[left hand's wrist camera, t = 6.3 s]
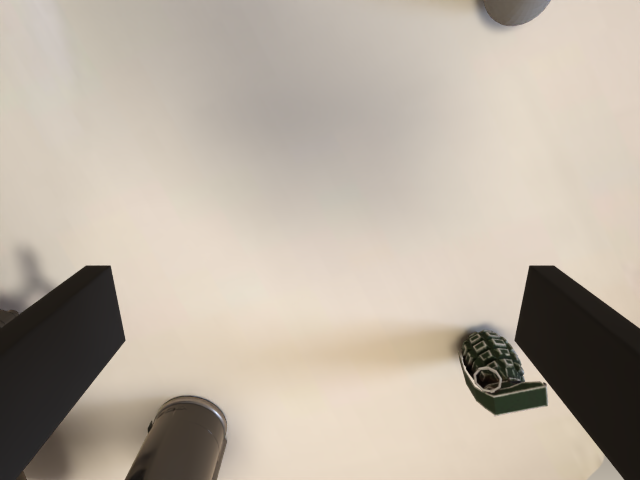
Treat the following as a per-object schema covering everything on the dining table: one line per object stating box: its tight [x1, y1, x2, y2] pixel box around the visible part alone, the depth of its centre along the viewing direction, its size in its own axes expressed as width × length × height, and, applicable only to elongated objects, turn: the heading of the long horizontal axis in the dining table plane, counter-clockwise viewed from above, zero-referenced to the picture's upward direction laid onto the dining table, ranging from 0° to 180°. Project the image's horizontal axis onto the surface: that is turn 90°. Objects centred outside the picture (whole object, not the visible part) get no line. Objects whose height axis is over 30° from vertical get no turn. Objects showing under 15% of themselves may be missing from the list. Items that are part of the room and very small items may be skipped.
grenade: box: [458, 330, 548, 416], centre depth 44 cm, size 7×6×10 cm
